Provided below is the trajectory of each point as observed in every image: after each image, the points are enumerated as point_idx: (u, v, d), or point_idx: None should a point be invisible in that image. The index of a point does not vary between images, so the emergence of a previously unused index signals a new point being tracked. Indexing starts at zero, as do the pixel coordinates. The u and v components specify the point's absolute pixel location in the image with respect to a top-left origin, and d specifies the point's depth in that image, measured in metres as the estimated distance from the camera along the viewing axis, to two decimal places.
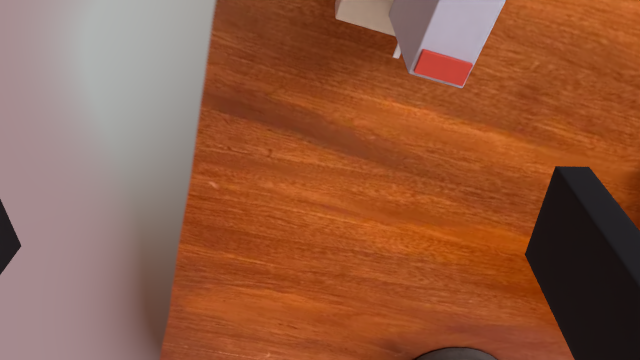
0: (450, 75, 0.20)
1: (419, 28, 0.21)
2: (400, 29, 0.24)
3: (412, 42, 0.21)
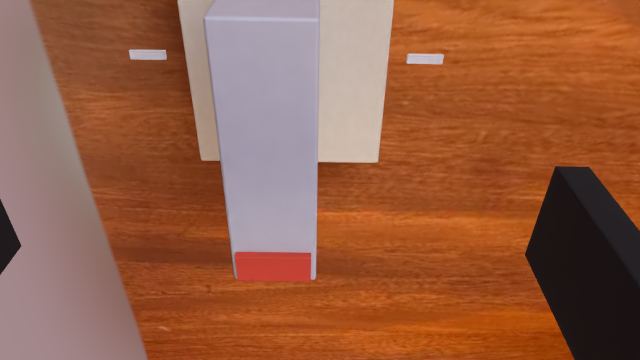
0: (286, 274, 0.15)
1: None
2: None
3: None
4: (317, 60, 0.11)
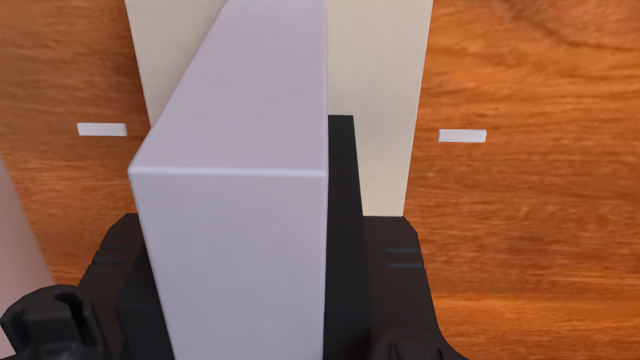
0: None
1: None
2: None
3: None
4: (323, 229, 0.07)
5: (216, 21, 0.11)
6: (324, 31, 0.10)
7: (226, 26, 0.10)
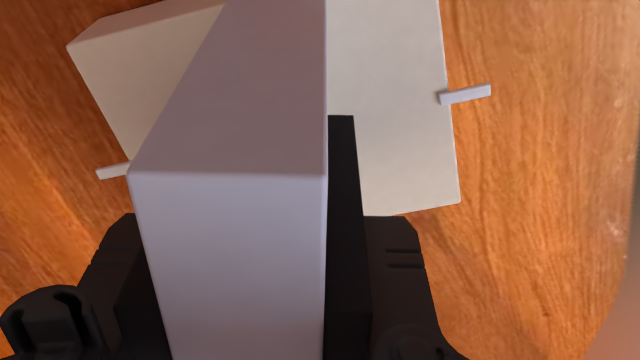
0: None
1: None
2: None
3: None
4: (323, 233, 0.07)
5: (216, 23, 0.11)
6: (324, 33, 0.10)
7: (225, 28, 0.10)
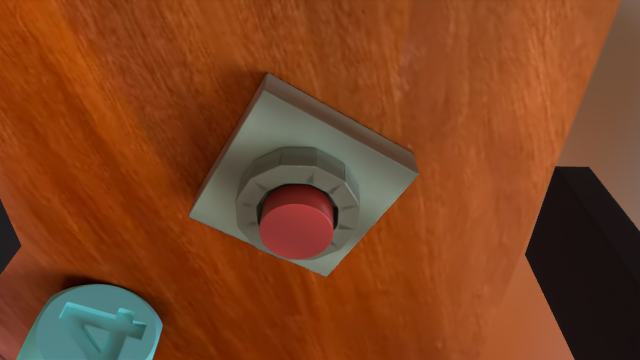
0: None
1: None
2: None
3: None
4: None
5: None
6: None
7: None
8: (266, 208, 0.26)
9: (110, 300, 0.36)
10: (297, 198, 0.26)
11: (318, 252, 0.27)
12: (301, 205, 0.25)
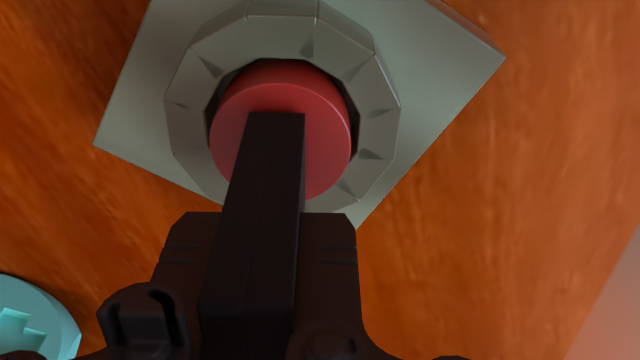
0: None
1: None
2: None
3: None
4: None
5: None
6: None
7: None
8: (222, 99, 0.14)
9: None
10: (282, 75, 0.13)
11: (322, 189, 0.15)
12: (290, 85, 0.13)
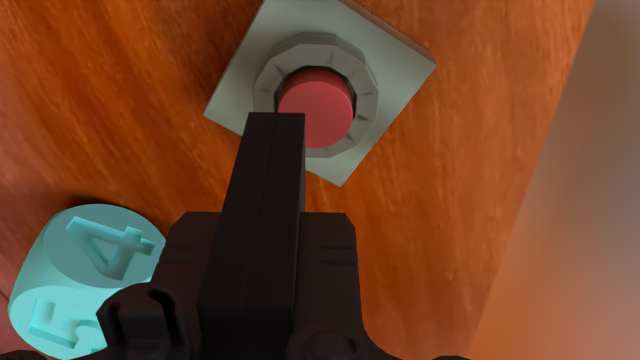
0: None
1: None
2: None
3: None
4: None
5: None
6: None
7: None
8: (285, 90, 0.26)
9: (117, 219, 0.35)
10: (317, 77, 0.25)
11: (336, 140, 0.27)
12: (321, 82, 0.25)
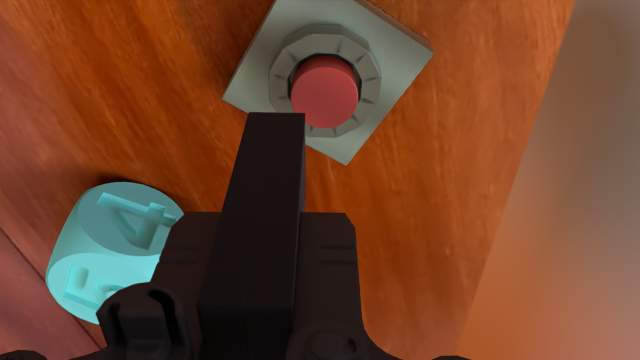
0: None
1: None
2: None
3: None
4: None
5: None
6: None
7: None
8: (297, 75, 0.29)
9: (142, 195, 0.38)
10: (326, 63, 0.28)
11: (343, 120, 0.30)
12: (330, 68, 0.28)
